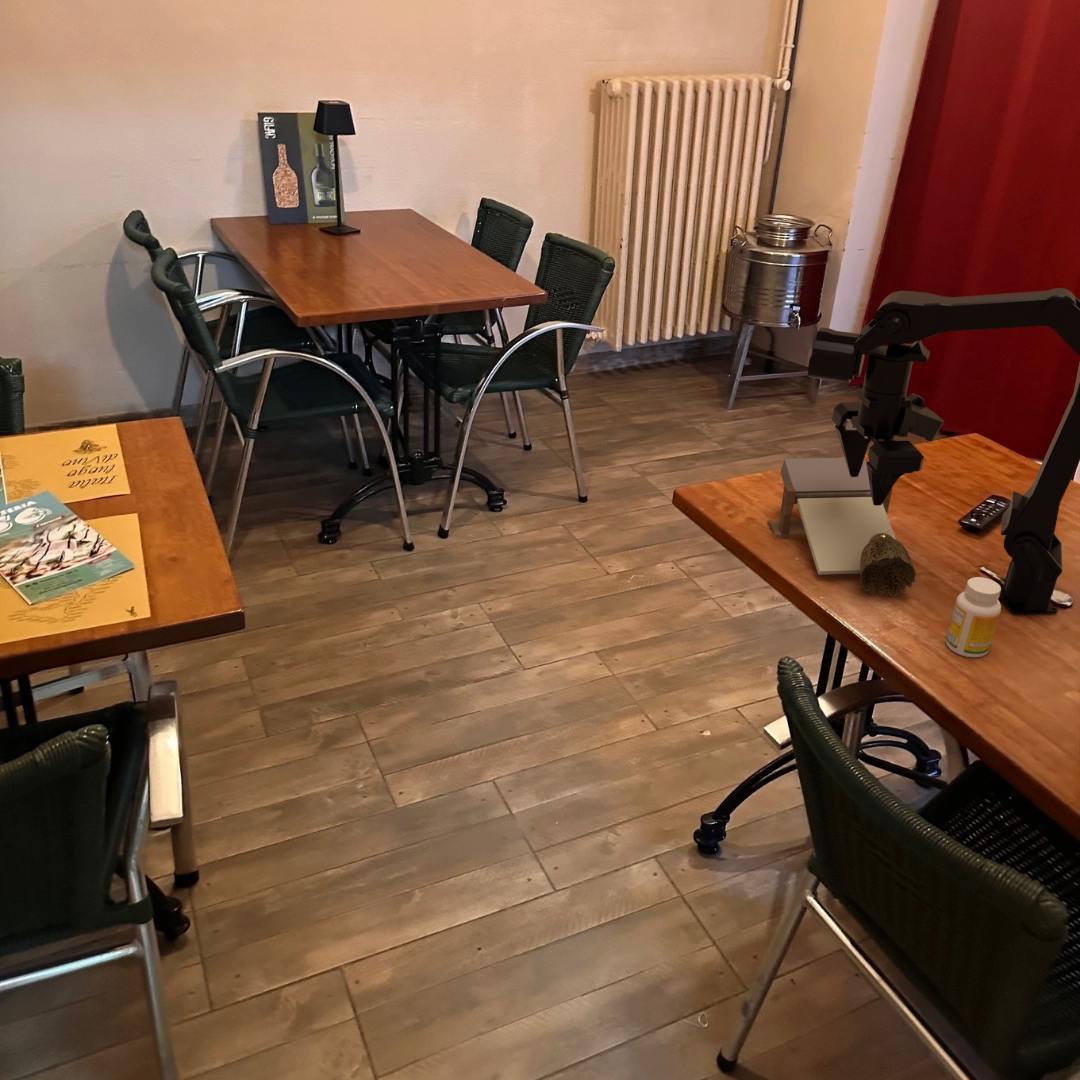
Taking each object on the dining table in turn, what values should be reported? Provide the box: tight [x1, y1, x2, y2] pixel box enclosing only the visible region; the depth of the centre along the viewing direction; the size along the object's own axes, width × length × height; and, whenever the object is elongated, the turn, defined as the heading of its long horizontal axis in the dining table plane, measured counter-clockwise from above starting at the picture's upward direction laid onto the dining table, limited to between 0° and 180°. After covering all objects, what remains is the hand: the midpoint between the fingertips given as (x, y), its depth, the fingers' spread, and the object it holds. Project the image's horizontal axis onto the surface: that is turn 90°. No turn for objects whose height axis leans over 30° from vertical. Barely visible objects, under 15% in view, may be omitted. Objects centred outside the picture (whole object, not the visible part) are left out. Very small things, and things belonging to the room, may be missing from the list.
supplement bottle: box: [945, 576, 1002, 658], centre depth 127 cm, size 5×5×10 cm
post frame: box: [766, 484, 893, 540], centre depth 155 cm, size 5×18×8 cm, turn 94°
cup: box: [859, 533, 917, 597], centre depth 140 cm, size 8×7×8 cm
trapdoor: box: [779, 457, 897, 576], centre depth 151 cm, size 23×13×3 cm, turn 5°
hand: (865, 490), depth 141 cm, fingers open, 9 cm apart
